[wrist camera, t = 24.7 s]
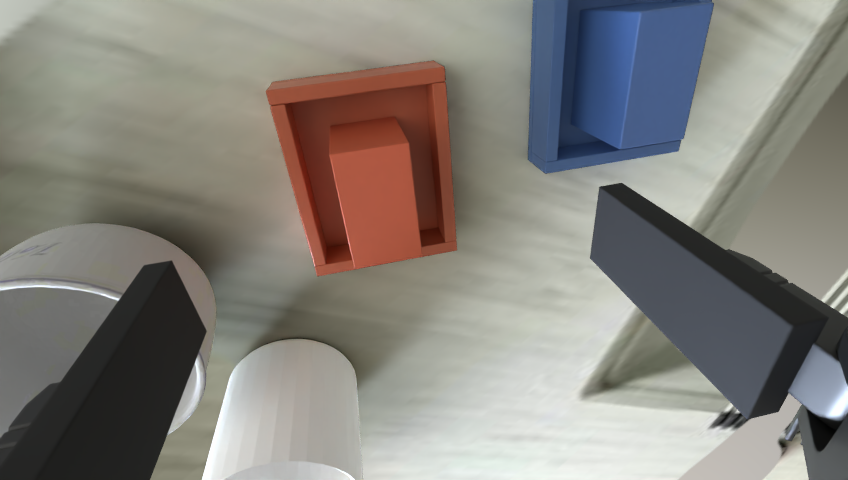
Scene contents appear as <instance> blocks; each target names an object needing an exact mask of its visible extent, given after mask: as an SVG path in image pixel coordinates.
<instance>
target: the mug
mask: <svg viewBox="0 0 848 480" xmlns="http://www.w3.org/2000/svg"><path fill="white" fill-rule="evenodd" d="M202 480H363V468H362V453H361V438H360V423H359V407H358V392H357V378H356V374H355V370H354V368H353V366H352V365H351V363H350V362H349V361H348V360H347V358H346V357H345V356H344V355H343V354H342V353H340V352H339V351H338V350H336V349H335V348H333V347H331V346H329V345H327V344H324V343H321V342H317V341H314V340H307V339H286V340H280V341H275V342H272V343H269V344H266V345H263V346H261V347H260V348H258V349H256V350H254V351H252V352H251V353H250V354H248V355H247V356H246V357H245V358H243V359H242V360H241V361H240V362H239V363H238V365H237V366H236V367H235V368H234V370H233V372H232V374H231V376H230V379H229V383H228V386H227V390H226V394H225V397H224V401H223V405H222V408H221V412H220V416H219V419H218V423H217V427H216V430H215V434H214V438H213V441H212V445H211V449H210V452H209V456H208V460H207V463H206V467H205V471H204V474H203V478H202Z"/></svg>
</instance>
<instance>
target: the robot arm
mask: <svg viewBox="0 0 848 480" xmlns="http://www.w3.org/2000/svg"><path fill="white" fill-rule="evenodd" d="M590 259H591V260H592V261H593V262H594V263H595V264H596V265H597V266H598V267H599V268H600V269H601V270H602V271H603V272H604V273H605V274H606V275H607V276H608V277H609V278H610V279H611V280H612V281H613V282H614V283H615V284H616V285H617V286H618V287H619V288H620V289H621V290H622V291H623V292H624V293H625V294H626V295H627V297H628V298H629V299H630V300H631V301H632V302H633V303H634V304H635V305H636V306H637V307H638V308H639V309H640V310H641V311H642V312H643V313H644V314H645V315H646V316H647V317H648V318H649V319H650V320H651V321H652V322H653V323H654V324H655V325H656V326H657V327H658V328H659V329H660V330H661V331H662V332H663V333H664V334H665V335H666V337H667V338H668V339H669V340H670V341H671V342H672V343H673V344H674V345H675V346H676V347H677V348H678V349H679V350H680V351H681V352H682V353H683V354H684V355H685V356H686V357H687V358H688V359H689V360H690V361H691V362H692V363H693V364H694V365H695V366H696V367H697V368H698V369H699V370H700V371H701V372H702V373H703V374H704V375H705V377H706V378H707V379H708V380H709V381H710V382H711V383H712V384H713V385H714V386H715V387H716V388H717V389H718V390H719V391H720V392H721V393H722V394H723V395H724V396H725V397H726V398H727V399H728V400H729V401H730V402H731V403H732V404H733V405H734V406H735V407H736V408H737V409H738V410H739V411H740V412H741V413H742V414H743V415H744V417H745V418H746V419H751V418H755V417H759V416H763V415H767V414H771V413H776V412H778V411H779V410H780V408H781V406H782V404H783V402H784V401H785V399H786V397H787V395H788V393H790V394H791V395H792V396H793V397H794V398H795V399H797V400H798V401H799V402H800V403H801V404H802V405H801V407H800V409H799V410H798V412H797V414H796V415H795V417H794V419H793V421H792V422H791V424H790V426H789V428H788V429H787V431H786V436H785V439H786V440H789V441H792V439H793V438H794V436H795V434H796V433H797V432H798V431H800V433H801V439H802V442H801V445H803V450H804V455H805V460H806V466H807V471H808V477H809V480H848V318H847V317H846V316H844V315H843V314H841V313H839V312H838V311H836V310H835V309H833V308H831V307H830V306H828V305H827V304H825V303H823V302H822V301H820V300H819V299H817V298H815V297H814V296H812V295H811V294H809V293H807V292H806V291H804V290H803V289H801V288H799V287H797V286H796V285H795V284H793V283H788V280H787V279H785V278H783V277H782V276H780V275H779V274H777V273H772V270H771V269H769V268H767V267H766V266H764V265H763V264H761V263H759V262H758V261H756V260H755V259H753V258H750V257H748V256H745V255H743V254H740V253H737V252H735V251H732V250H730V249H729V250H724V249H723V248H721V247H720V246H718V245H717V244H715V243H713V242H712V241H710V240H709V239H707V238H706V237H704V236H703V235H701V234H700V233H698V232H697V231H695V230H693V229H692V228H690V227H689V226H687V225H686V224H684V223H683V222H681V221H680V220H678V219H677V218H675V217H673V216H672V215H670V214H669V213H667V212H666V211H664V210H663V209H661V208H660V207H658V206H656V205H655V204H653V203H652V202H650V201H649V200H647V199H646V198H644V197H643V196H641V195H640V194H638V193H636V192H635V191H633V190H632V189H630V188H629V187H627V186H626V185H624V184H623V183H619V184H613V185H607V186H601V187H599V195H598V202H597V210H596V217H595V225H594V232H593V240H592V247H591V255H590ZM206 333H207V330H206V328H205V326H204V324H203V322H202V320H201V318H200V316H199V314H198V312H197V310H196V308H195V306H194V304H193V302H192V300H191V298H190V296H189V294H188V292H187V290H186V288H185V286H184V284H183V282H182V280H181V278H180V276H179V273H178V271H177V269H176V267H175V265H174V263H173V261H172V260H171V261H165V262H159V263H153V264H147V265H144V266H143V267H142V268H141V270H140V271H139V273H138V274H137V275H136V277H135V278H134V280H133V281H132V282H131V284H130V285H129V287H128V288H127V289H126V291H125V292H124V294H123V295H122V296H121V298H120V299H119V301H118V302H117V303H116V305H115V306H114V308H113V309H112V310H111V312H110V313H109V315H108V316H107V317H106V319H105V320H104V322H103V323H102V324H101V326H100V327H99V329H98V330H97V331H96V333H95V334H94V336H93V337H92V338H91V340H90V341H89V343H88V344H87V345H86V347H85V348H84V350H83V351H82V352H81V354H80V355H79V357H78V358H77V359H76V361H75V362H74V364H73V365H72V366H71V368H70V369H69V371H68V372H67V373H66V375H65V376H64V378H63V379H62V380H61V382H57V383H52V384H49V385H48V386H47V387H46V388H45V389H44V390H42V391H41V392H40V393H39V394H38V395H37V396H35V397H34V398H33V399H32V400H31V401H30V402H28V403H27V404H26V405H25V406H24V408H23V409H22V410H21V412H20V413H19V414H18V416H17V417H16V418H15V419H14V421H13V422H12V423H11V425H10V426H9V427H8V429H9V431H8V432H5V433H4V434H3V435H2V437H1V438H0V480H150V478H151V475H152V473H153V470H154V468H155V465H156V462H157V460H158V457H159V455H160V452H161V449H162V447H163V444H164V442H165V439H166V436H167V434H168V431H169V429H170V426H171V423H172V421H173V418H174V416H175V413H176V410H177V408H178V405H179V403H180V400H181V397H182V395H183V392H184V390H185V387H186V384H187V382H188V379H189V377H190V374H191V372H192V369H193V366H194V364H195V361H196V359H197V356H198V353H199V351H200V348H201V346H202V343H203V340H204V338H205V335H206Z"/></svg>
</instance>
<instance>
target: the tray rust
mask: <svg viewBox="0 0 848 480" xmlns="http://www.w3.org/2000/svg"><path fill="white" fill-rule="evenodd" d="M445 80H446V78H445V67H444V66H442V65H440V64H438V63H436V62H435V61H427V62H419V63H412V64H404V65H397V66H389V67H381V68H374V69H366V70H359V71H351V72H343V73H336V74H328V75H321V76H313V77H306V78H298V79H290V80H283V81H275V82H272V83H271V85H270V86H269V88H268V89H267V90H266V94H267V98H268V101H269V104H270V105H271V107H270V108H271V112H272V116H273V119H274V123H275V126H276V130H277V134H278V137H279V141H280V144H281V148H282V151H283V155H284V159H285V162H286V166H287V169H288V173H289V177H290V180H291V184H292V187H293V191H294V195H295V198H296V202H297V205H298V209H299V213H300V216H301V220H302V223H303V227H304V230H305V234H306V238H307V241H308V245H309V248H310V252H311V256H312V259H313V263H314V265H315V270H316V274H317V276H322V275H327V274H333V273H338V272H343V271H349V270H354V269H355V268H354V265H353V261H352V256H351V252H350V247H349V242H348V238H347V233H346V229H345V224H344V220H343V215H342V211H341V206H340V202H339V197H338V192H337V188H336V183H335V179H334V174H333V170H332V165H331V161H330V156H329V148H330V126H331V125H338V124H345V123H352V122H359V121H366V120H372V119H379V118H386V117H393V116H394V117H395V118H396V120H397V122H398V124H399V126H400V127H401V129H402V131H403V133H404V135H405V136H406V138H407V140H408V142H409V146H410V154H411V163H412V171H413V180H414V188H415V197H416V205H417V214H418V223H419V231H420V240H421V248H422V257H424V256H429V255H434V254H440V253H445V252H450V251H456V250H457V241H456V226H455V211H454V196H453V181H452V166H451V151H450V136H449V121H448V106H447V91H446V82H445ZM417 258H418V257H417ZM411 259H413V258H411ZM406 260H408V259H406ZM401 261H402V260H401ZM395 262H397V261H395ZM390 263H392V262H390ZM384 264H386V263H384ZM379 265H381V264H379ZM374 266H375V265H374ZM368 267H370V266H368ZM363 268H365V267H363ZM358 269H359V268H358Z"/></svg>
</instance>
